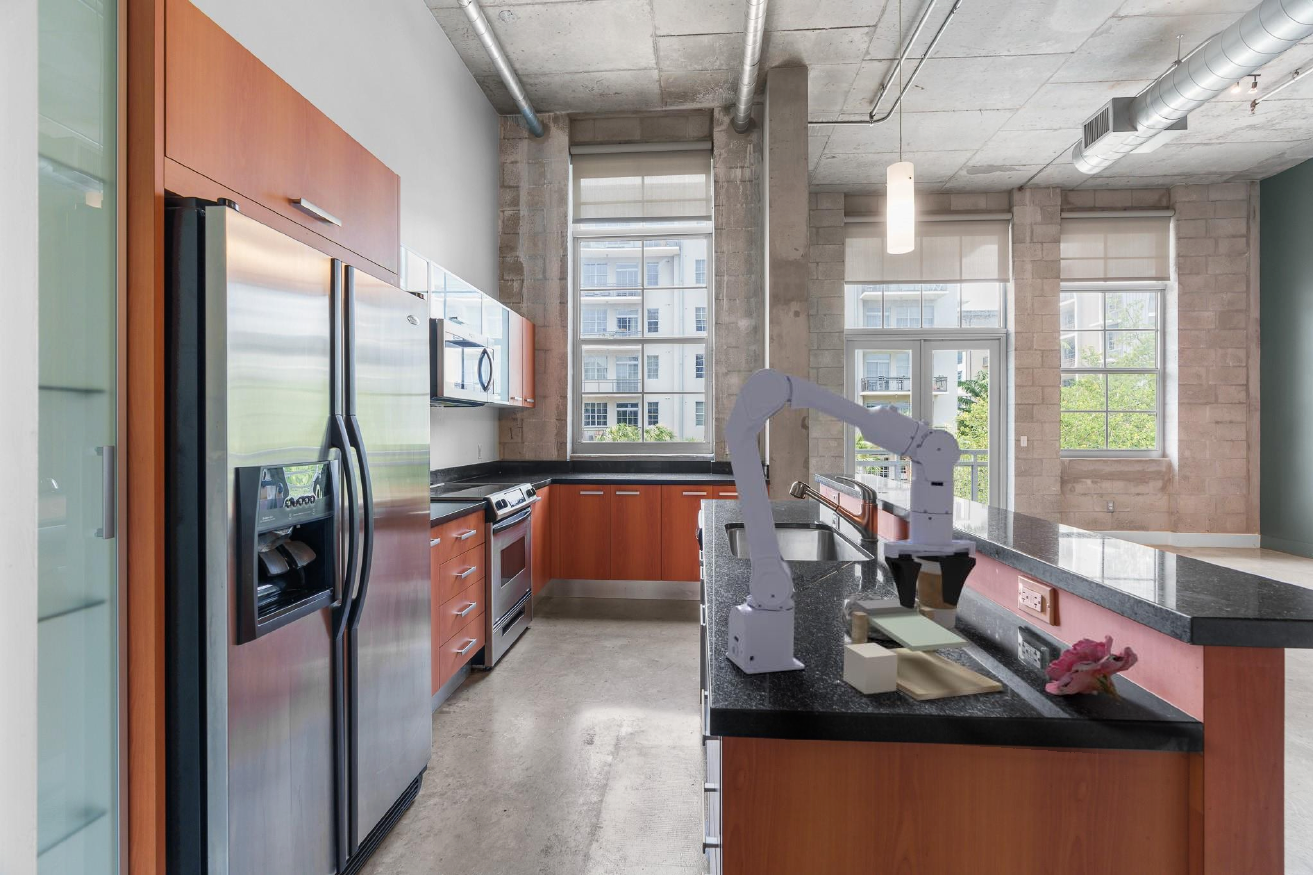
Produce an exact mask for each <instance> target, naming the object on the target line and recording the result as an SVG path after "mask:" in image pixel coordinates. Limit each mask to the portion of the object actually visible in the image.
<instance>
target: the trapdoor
mask: <svg viewBox="0 0 1313 875" xmlns="http://www.w3.org/2000/svg"><path fill="white" fill-rule="evenodd" d="M917 606H918V605H916V604H915V605H914V609H909V608H906V607H903V606H901V605H900V601H899V599H892V598H887V599H886V600H869V601H856V603H855V612H863V613H865V614H867V615H868V621H867V627H876V628H878V629H879V630H881V631H882V632H884V633H885V634H887V635H888V636H890V637H891V638H892V639H894V640H893V641H896V642H897V643H898V644H900V645H901V646H903V648H907V649H909V650H910V651H912V652H915V651H926V650H933V651H935V650H943V649H945V650H948V649H957V648H958V649H959V648H966V647H967V645H968V641H967V640H965V639H964V638H962V637H960V636H958V635H957V634H955V633H953V632H951V631H950V630H949V629H945V628H943V627H941V626H940V625H938V624H936V623H935V622H933V621H931V620H929V619H928V618H926V617H924V616H923V615H921V614H919V613H917Z"/></svg>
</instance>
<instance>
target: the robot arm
mask: <svg viewBox="0 0 1313 875" xmlns="http://www.w3.org/2000/svg"><path fill="white" fill-rule="evenodd" d="M787 403H789V408H788V409H789V410H798V409H812V410H814V411H816V412H818V413H821V414H824V415H827V416H828V417H831V418H833V419H836V420H838V421H840V422H843V423H845V424H848V425H851V426H854V427H855V428H858V429H859V432H860V434H861V437H862V439H863V441H865V442H868V443H870V444H872V445H875V446H876V447H878V448H880V449H883V450H886V451H888V452H889V453H893V454H894V455H896V456H899V457H902V458H907V457H908V458H909V460H910V462H911V463H912V468H911V469H912V470H911V471H912V472H911V473H912V474H911V476H912V478H911V480H910V506H909V507H910V510H909V538H908V539H903V540H895V541H884V542H883V556H884V562H885V563H886V565H887V567H888V569H889V572H890V573H891V575H892V578H893V581H894V584H895V587H896V591H897V595H898V598H899V601H900V605H901V606H903V607H906V608H909V609H914V605H915V600H916V595H917V594H916V593H917V585H918V581H917V579H918V575H919V572H920V569H921V567H922V563H919V562H917V560H916V561H915V558H913V557H915V556H932V555H937V557H938V560H939V564H940V568H941V575H942V597H943V602H944V603H947V604H950V605H952V606H957V607H958V603H959V601H960V597H961V594H962V591H963V588H964V585H965V583H966V581H967V579H968V577H969V575H970V573H971V572H972V571H973V570H974V568H975V567H976V565H977V558H976V557H972V556H976V548H977V546H976V544H977V542H976V541H972V540H967V539H953V533H954V532H953V531H954V501H955V500H954V498H955V481H954V478H955V477H954V476H955V475H954V473H955V472H954V470H955V465H956V464H957V463H958V462H959V460H960V458H961V455H962V449H961V448H960V446H959V442H958V440H957V438H955V436H954V434H952V433H951V432H950V431H947V430H945V429H939V428H938V429H937V428H936V429H934V428H929V426H930V424H931V423H930V421H929V420H926V419H922V420H921V421H919V420H917V419H915V418H913V417H911V416H907V415H906V414H903V413H901V412H898V411H899V409H900V408H899V406H896V405H894V404H889V405H888V406H885V405H883V404H880V405H879V404H878V405H876V406H874V407H871V408H867V407H865V406H863V405H860V404H859V403H856V402H854V401H853V400H851V399H849V398H846V397H844V396H841V395H840V394H837V393H835V392H834V391H831V390H829V389H827V388H825V387H824V386H821V385H819V384H816V383H815V382H812V381H809V380H808V379H807V380H806V379H805V378H801V377H800V376H799V377H798V376H797V375H793V374H788V373H786V375H785V374H783V373H782V372H781V371H779V370H777V369H774V368H762V369H759V370H757V371H755V372H753V374H752V375H751V376H750V377H749V378H748V379H747V380H746V381H745V382H744V383H743V385H742V386H741V387H740V388H739V391H738V393H737V397H736V399H735V402H734V404H733V407H732V409H731V412H730V414H729V417H728V419H727V421H726V424H725V427H724V436H725V440H726V445H727V449H728V454H729V458H730V459H729V460H730V464H731V469H732V474H733V478H734V483H735V488H736V493H737V497H738V503H739V506H740V511H741V516H742V522H743V526H744V531H745V535H746V540H747V547H748V554H749V560H750V566H751V570H750V578H749V582H748V588H749V593H750V594H749V595H747V596H746V599H745V601H746V602H744V603H742V604H740V605H734V606H733V607H731V608H730V611H729V615H728V625H727V626H728V628H727V629H728V631H727V632H728V633H727V652H725V656H726V657H727V659H729V660H730V661H731V662H732V663H734V664H735V665H736V666H737V667H738V668H740V669H741V670H742V671H743V672H744V673H746V674H747V675H753V674H760V673H761V674H762V673H773V672H781V671H782V672H783V671H793V670H803V669H805V666H806V665H805V664H804V663H802V662H801V661H799V660H798V659H796V658H795V657H794V639H795V638H794V637H795V636H794V635H795V633H794V632H795V606H796V605H795V604H796V603H795V601H794V599H792V598H791V597H792V596H793V593H794V583H793V579H792V569H791V567H790V565H789V562H787V561H786V560H785V559H784V556H783V554H782V552H781V547H780V543H779V539H778V536H777V530H776V525H775V520H774V517H773V516H774V515H773V511H772V507H771V501H770V497H769V492H768V488H767V483H766V478H765V474H764V469H763V465H762V459H761V456H760V451H759V447H758V446H759V444H758V441H757V437H758V434H759V433H760V432H761V430H762V429H763V428H764V426H765V425H766V423H767V421H768V420H769V419H770V418H772V417H773V416H774V415H776V414H777V413H778V412H780V411H781V410H783V408H784V407H785V405H786V404H787Z"/></svg>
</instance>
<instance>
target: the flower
mask: <svg viewBox="0 0 1313 875" xmlns="http://www.w3.org/2000/svg"><path fill="white" fill-rule="evenodd" d="M1082 639H1083V640H1082ZM1082 639H1080V640H1078V641H1077V642H1076V643H1074V644H1072V645H1071V647H1072V649H1070V648H1067V649H1065V650H1063V651H1062V654H1061V656H1060V657H1059V658H1058V660H1053V661H1051V662H1050V663H1048V665H1049V667H1048V668H1047V670H1046V671H1045V672H1044V673H1045V674H1046V675H1048V677H1050V678H1052V679H1051V681H1050V682H1049V683H1046V684H1045V691H1046V692H1048V693H1049V694H1053V695H1057V696H1063V695H1064V696H1065V695H1074V694H1076V693H1080V694H1085V695H1087V694H1091V693H1093V692H1096V693H1098V692H1099V693H1102V694H1104V695H1107V696H1108V697H1111V698H1113V699H1115V698H1116V699H1117V700H1119V701H1121V702H1122V703H1124V705H1126V707H1128V708H1130V706H1129V705H1127V704H1126V703H1125V702H1124V701H1123V700H1122V698H1121V697H1120V695H1119V694H1118V692H1117V688H1116V685H1115V682H1114V681H1113V680H1112V677H1113V675H1116V674H1118V673H1120V672H1126V671H1129V670H1130V668H1132V667H1134V666H1135V664H1137V663H1138V662H1139V659H1138V655H1137V654H1136V652H1134V651H1133V649H1132V648H1131V647H1130V646H1126V647H1125V648H1122V649H1121V650H1120V651H1118V652H1117V653H1112V647H1113V643H1114V639H1113V638H1112V636H1111V635H1108V634H1105V635H1104V639H1105V641H1095V640H1092V639H1090V638H1085V637H1082ZM1053 679H1055V680H1053Z"/></svg>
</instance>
